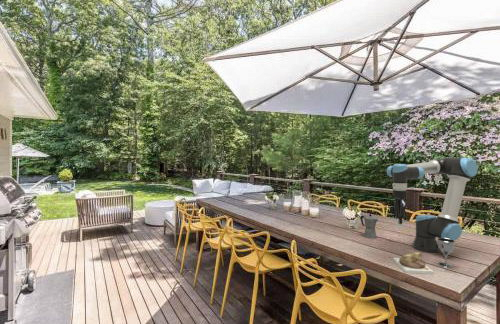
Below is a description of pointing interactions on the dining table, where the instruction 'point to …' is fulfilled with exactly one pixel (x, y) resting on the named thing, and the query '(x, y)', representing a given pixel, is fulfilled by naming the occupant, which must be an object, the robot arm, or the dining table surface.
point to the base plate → (414, 270)
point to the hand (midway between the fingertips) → (399, 228)
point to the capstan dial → (412, 260)
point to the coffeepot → (369, 226)
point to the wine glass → (446, 249)
